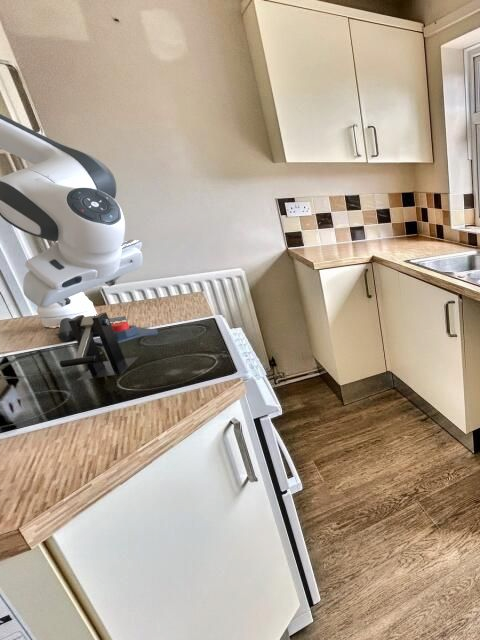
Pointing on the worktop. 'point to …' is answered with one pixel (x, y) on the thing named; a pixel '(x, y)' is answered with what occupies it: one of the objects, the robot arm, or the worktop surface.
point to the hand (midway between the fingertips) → (87, 292)
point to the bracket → (110, 345)
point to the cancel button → (120, 326)
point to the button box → (130, 334)
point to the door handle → (67, 333)
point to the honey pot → (66, 310)
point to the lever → (83, 345)
